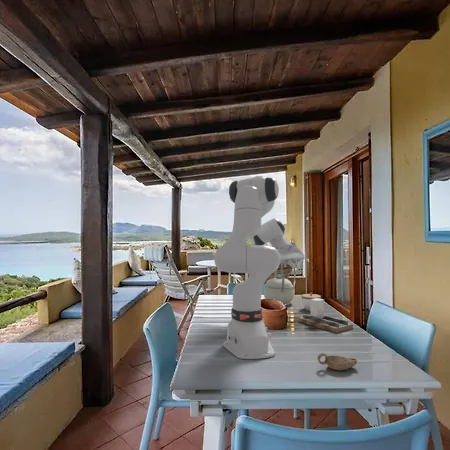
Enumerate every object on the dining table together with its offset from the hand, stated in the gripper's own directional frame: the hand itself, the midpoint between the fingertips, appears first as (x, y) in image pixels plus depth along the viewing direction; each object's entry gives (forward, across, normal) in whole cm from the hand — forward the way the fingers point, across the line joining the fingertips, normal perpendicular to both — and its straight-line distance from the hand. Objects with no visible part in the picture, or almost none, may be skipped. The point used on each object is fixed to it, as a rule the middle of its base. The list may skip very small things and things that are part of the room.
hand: (295, 267), depth 180 cm
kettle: (-3, +16, +39) cm, 42 cm away
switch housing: (+31, 0, +5) cm, 31 cm away
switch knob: (+26, 0, +6) cm, 27 cm away
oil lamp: (+56, -38, -20) cm, 70 cm away
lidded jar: (+14, +20, +23) cm, 33 cm away
